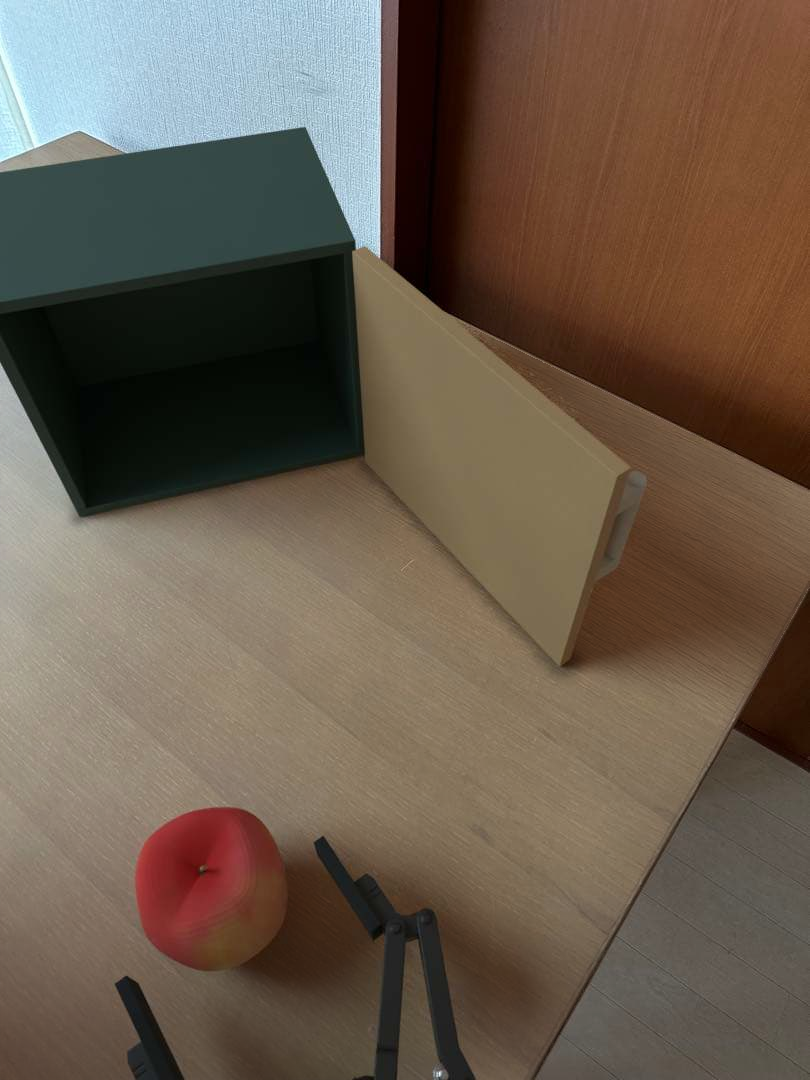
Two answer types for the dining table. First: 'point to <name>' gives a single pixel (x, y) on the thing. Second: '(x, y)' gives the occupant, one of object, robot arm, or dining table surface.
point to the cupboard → (181, 317)
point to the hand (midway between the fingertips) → (227, 910)
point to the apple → (211, 888)
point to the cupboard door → (488, 460)
